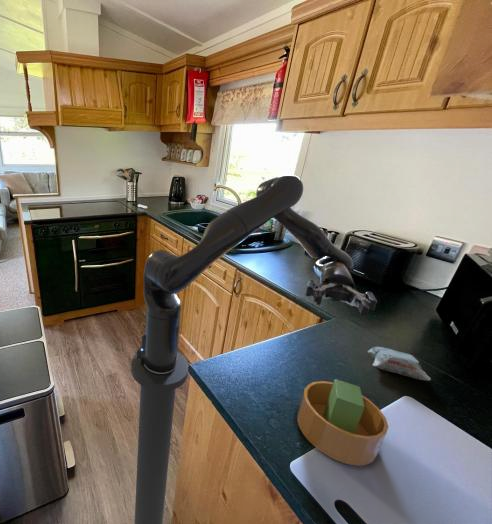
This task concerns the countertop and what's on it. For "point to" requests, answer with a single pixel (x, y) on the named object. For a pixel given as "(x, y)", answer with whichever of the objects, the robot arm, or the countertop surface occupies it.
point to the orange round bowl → (335, 439)
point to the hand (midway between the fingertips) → (341, 306)
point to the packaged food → (397, 363)
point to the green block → (344, 406)
